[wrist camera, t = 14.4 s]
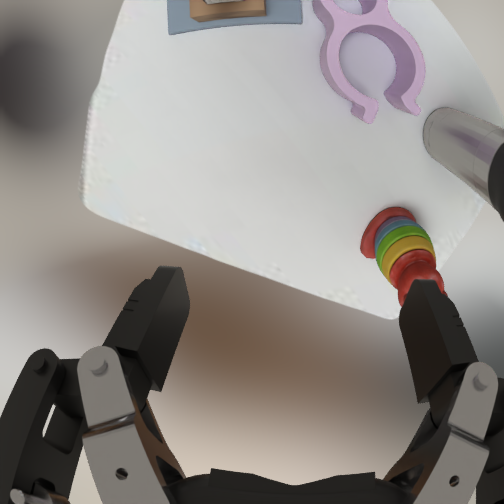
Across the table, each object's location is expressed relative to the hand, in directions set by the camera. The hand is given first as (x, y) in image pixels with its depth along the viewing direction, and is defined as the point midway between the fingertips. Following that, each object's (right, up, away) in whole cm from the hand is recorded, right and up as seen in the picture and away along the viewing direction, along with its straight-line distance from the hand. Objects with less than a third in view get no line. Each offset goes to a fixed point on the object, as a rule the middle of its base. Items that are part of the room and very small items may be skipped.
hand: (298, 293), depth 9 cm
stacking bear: (+22, +5, +35) cm, 42 cm away
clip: (+13, +29, +19) cm, 37 cm away
